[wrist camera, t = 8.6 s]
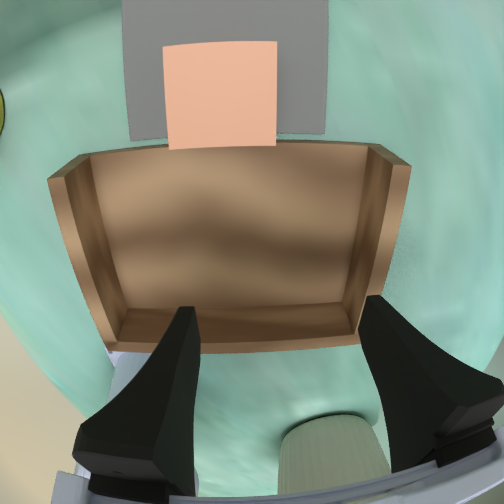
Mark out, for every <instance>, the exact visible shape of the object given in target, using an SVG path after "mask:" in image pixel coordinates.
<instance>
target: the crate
mask: <svg viewBox="0 0 504 504" xmlns="http://www.w3.org/2000/svg"><path fill="white" fill-rule="evenodd" d="M411 168H412V166H411V165H409V164H408V163H407V162H405V161H404V160H402V159H401V158H399V157H398V156H397V155H395V154H394V153H392V152H391V151H389V150H388V149H386V148H385V147H383V146H382V145H380V144H370V143H357V142H340V141H318V140H276V146H229V147H206V148H188V149H174V150H169V144H163V145H152V146H142V147H133V148H125V149H117V150H109V151H102V152H95V153H88V154H82V155H78V156H77V157H76V158H74V159H73V160H71V161H70V162H69V163H67V164H66V165H65V166H63V167H62V168H61V169H59V170H58V171H57V172H55V173H54V174H53V175H52V176H50V177H49V178H48V179H47V182H48V186H49V190H50V194H51V198H52V202H53V205H54V209H55V213H56V216H57V220H58V223H59V227H60V230H61V233H62V236H63V240H64V243H65V246H66V249H67V252H68V255H69V258H70V261H71V264H72V266H73V269H74V272H75V275H76V277H77V280H78V283H79V285H80V288H81V291H82V293H83V296H84V298H85V301H86V303H87V306H88V308H89V310H90V313H91V315H92V318H93V320H94V322H95V324H96V327H97V329H98V331H99V333H100V336H101V338H102V340H103V342H104V344H105V346H106V348H107V350H108V351H116V352H136V353H152V352H153V351H154V349H155V348H156V346H157V345H158V343H159V342H160V340H161V338H162V337H163V335H164V333H165V332H166V330H167V328H168V326H169V325H170V323H171V321H172V319H173V317H174V315H175V313H176V311H177V309H178V308H179V307H180V306H195V312H196V317H197V323H198V328H199V333H200V339H201V353H200V354H220V353H253V352H273V351H289V350H303V349H315V348H326V347H336V346H346V345H355V344H361V342H360V337H359V333H358V326H359V322H360V319H361V315H362V312H363V308H364V304H365V300H366V297H367V296H369V295H380V296H381V294H382V291H383V287H384V284H385V281H386V277H387V274H388V270H389V266H390V263H391V259H392V255H393V251H394V247H395V244H396V239H397V235H398V231H399V227H400V223H401V218H402V214H403V209H404V204H405V200H406V195H407V190H408V184H409V179H410V173H411Z"/></svg>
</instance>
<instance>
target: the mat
mask: <svg viewBox="0 0 504 504" xmlns="http://www.w3.org/2000/svg"><path fill="white" fill-rule="evenodd" d="M122 40H123V62H124V78H125V92H126V103H127V114H128V124H129V133H130V141H137V140H146V139H156V138H167V137H168V131H167V118H166V104H165V88H164V69H163V47H165V46H173V45H182V44H193V43H207V42H227V41H277V117H276V133H307V134H325V119H326V99H327V73H328V0H122Z"/></svg>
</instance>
